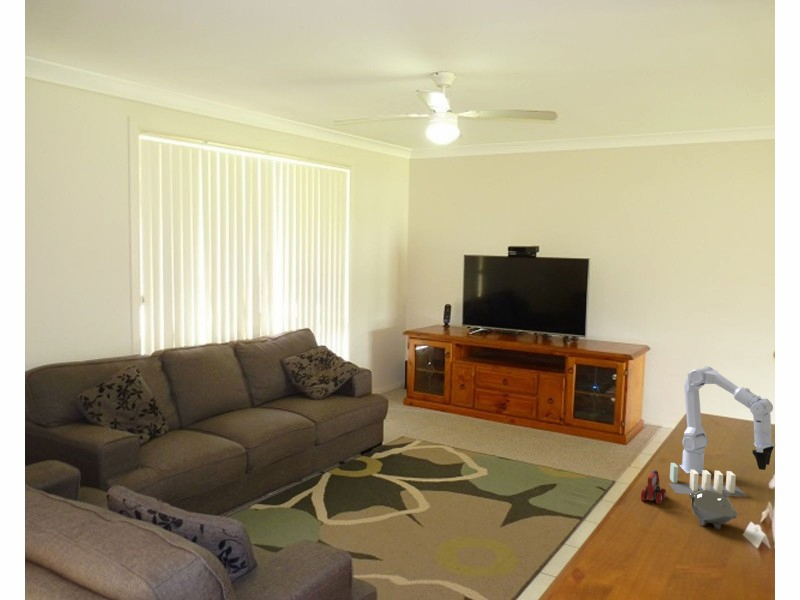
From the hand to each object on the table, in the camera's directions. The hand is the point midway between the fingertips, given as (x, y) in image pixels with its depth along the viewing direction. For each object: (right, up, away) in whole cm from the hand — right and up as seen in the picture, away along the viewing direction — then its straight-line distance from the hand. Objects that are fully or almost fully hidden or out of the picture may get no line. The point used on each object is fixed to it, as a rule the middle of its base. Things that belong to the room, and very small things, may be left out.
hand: (764, 466), depth 246 cm
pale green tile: (-29, -9, +12) cm, 33 cm away
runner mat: (-20, -10, +3) cm, 23 cm away
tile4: (-16, -10, +2) cm, 19 cm away
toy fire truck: (-44, -11, -6) cm, 46 cm away
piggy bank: (-32, -13, -26) cm, 44 cm away
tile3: (-21, -10, +3) cm, 23 cm away
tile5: (-12, -10, +2) cm, 16 cm away
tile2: (-25, -9, +3) cm, 27 cm away
